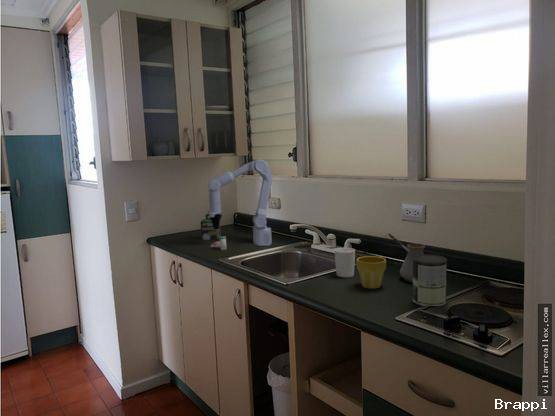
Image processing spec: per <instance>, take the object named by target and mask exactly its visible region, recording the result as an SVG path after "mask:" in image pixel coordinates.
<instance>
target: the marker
mask: <svg viewBox="0 0 555 416" xmlns="http://www.w3.org/2000/svg"><path fill="white" fill-rule="evenodd" d="M219 241H220V247H219V248H220V250H221V251H226V250H227V248H228V246H227V236H225V235H221V237H220V238H219Z"/></svg>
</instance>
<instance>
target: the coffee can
mask: <svg viewBox="0 0 555 416" xmlns="http://www.w3.org/2000/svg"><path fill="white" fill-rule="evenodd" d="M447 262H448V258H446V257H445V256H441V255H438V254H424V255H417V256H414V257H413V282H412V302H413V303H415V304H416V305H419V306H423V307H428V306H438V307H442V306H445V305H446V303H447V267H448V266H447Z"/></svg>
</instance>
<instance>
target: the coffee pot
mask: <svg viewBox="0 0 555 416" xmlns="http://www.w3.org/2000/svg"><path fill="white" fill-rule="evenodd" d="M388 236H389V237H388ZM385 237H386V238H387V239H389V238H390V239H392V240H393V241H394V242H395V243H396V244H397V245H399V246H400V247H402V248H403V249H404V250H405V251H406V252H407V254H406V257H405V259H404V261H403V262H402V265H401V267H400V270H399V274H400V276H401V277H402V278H403V279H404V280H405V281H407V282H409V283H413V257H414V256H417V255H425V252H424V249H425V248H426V245H425V244H421V243H411V244H410V243H409V244H407V245H406V246H405V245H403V243H402V242H401V241H400V240H399V239H398V238H396V237H395V236H394V235H392V234H391V233H388V234H387V235H386V236H385Z"/></svg>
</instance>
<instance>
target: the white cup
mask: <svg viewBox="0 0 555 416" xmlns="http://www.w3.org/2000/svg"><path fill="white" fill-rule="evenodd" d="M334 259H335V261H334V262H335V263H334V264H335V271H336V276H337V277H340V278H352V277H354V275H355V264H356V260H355V259H356V249H355V248H352V247H338V248H335V249H334Z"/></svg>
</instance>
